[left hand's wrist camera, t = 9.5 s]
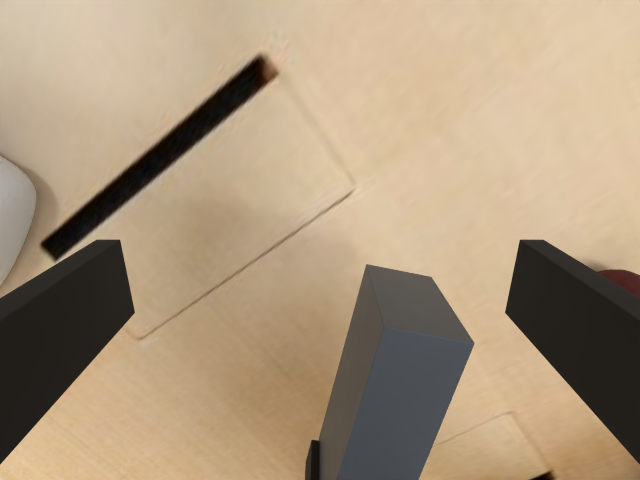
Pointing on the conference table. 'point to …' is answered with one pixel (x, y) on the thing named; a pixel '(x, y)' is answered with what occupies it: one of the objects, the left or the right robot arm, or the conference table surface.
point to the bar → (392, 379)
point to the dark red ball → (624, 280)
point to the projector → (14, 213)
